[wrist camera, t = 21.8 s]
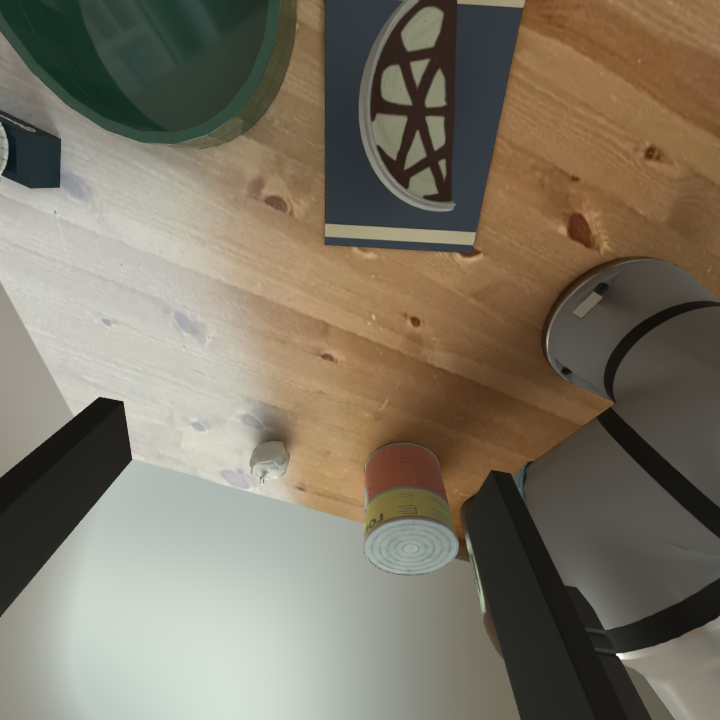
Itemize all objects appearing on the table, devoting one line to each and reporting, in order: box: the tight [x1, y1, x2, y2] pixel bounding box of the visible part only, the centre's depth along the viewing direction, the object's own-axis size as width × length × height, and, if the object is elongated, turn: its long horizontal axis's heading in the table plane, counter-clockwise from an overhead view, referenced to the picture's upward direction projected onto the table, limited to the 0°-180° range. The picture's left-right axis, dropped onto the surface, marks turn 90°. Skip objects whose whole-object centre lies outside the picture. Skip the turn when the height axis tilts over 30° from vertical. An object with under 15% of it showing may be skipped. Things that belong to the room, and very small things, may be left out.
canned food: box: [363, 443, 459, 576], centre depth 44 cm, size 11×11×12 cm
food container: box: [359, 0, 457, 212], centre depth 24 cm, size 12×6×10 cm, turn 6°
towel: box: [325, 0, 525, 253], centre depth 29 cm, size 15×20×1 cm
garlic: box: [250, 441, 290, 484], centre depth 46 cm, size 6×5×5 cm
